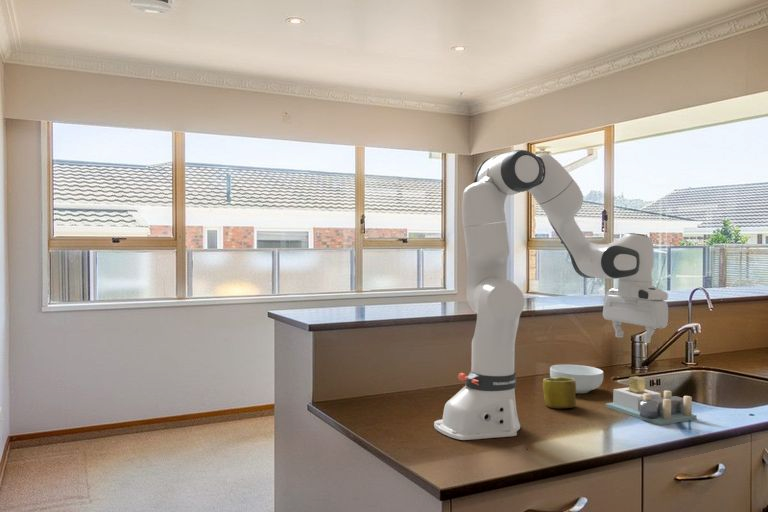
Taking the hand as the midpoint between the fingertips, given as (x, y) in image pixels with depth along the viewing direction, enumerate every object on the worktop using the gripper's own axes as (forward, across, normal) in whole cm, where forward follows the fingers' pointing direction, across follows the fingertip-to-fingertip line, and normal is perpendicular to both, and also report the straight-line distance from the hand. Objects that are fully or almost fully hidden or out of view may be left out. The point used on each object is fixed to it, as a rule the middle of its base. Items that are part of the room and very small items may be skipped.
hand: (632, 339), depth 166 cm
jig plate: (+20, +2, +5) cm, 21 cm away
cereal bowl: (+21, -26, +4) cm, 33 cm away
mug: (+22, -14, -13) cm, 29 cm away
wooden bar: (+20, -2, +5) cm, 20 cm away
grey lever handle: (+19, +8, +4) cm, 21 cm away
